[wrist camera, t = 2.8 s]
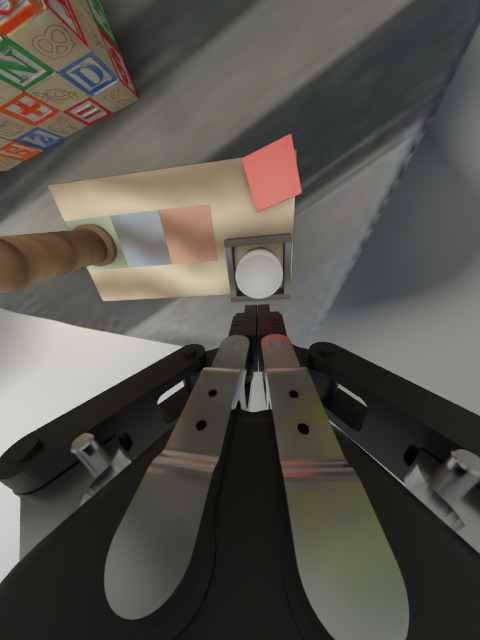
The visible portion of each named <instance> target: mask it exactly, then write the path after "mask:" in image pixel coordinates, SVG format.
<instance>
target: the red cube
mask: <svg viewBox="0 0 480 640" xmlns="http://www.w3.org/2000/svg"><path fill="white" fill-rule="evenodd" d="M242 161H243V165H244V168H245V172H246V175H247V179H248V182H249V186H250V190H251V193H252V197H253V200H254V204H255V207H256V211H257V212H259V211H261V210H264V209H266V208H269V207H271V206H273V205H276V204H278V203H280V202H283V201H285V200H288V199H290V198H292V197H295V196H297V195H299V194H301V193H302V191H301V186H300V180H299V174H298V169H297V163H296V158H295V152H294V147H293V141H292V136H291V134H289V135H287V136H285V137H283V138H281V139H279V140H277V141H275V142H273V143H271V144H269V145H267V146H265V147H263V148H261V149H259V150H257V151H255V152H253V153H251V154H249V155H247V156H245V157H243V158H242Z"/></svg>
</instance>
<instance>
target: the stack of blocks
mask: <svg viewBox="0 0 480 640" xmlns="http://www.w3.org/2000/svg"><path fill="white" fill-rule="evenodd" d="M137 100H138V95H137V93H136V90H135V88H134V85H133V82H132V80H131V77H130V75H129V72H128V69H127V67H126V64H125V62H124V59H123V57H122V54H121V52H120V50H119V48H118V45H117V42H116V40H115V37H114V35H113V32H112V29H111V27H110V24H109V21H108V19H107V16H106V14H105V11H104V8H103V6H102V3H101V0H0V173H1V172H3V171H8V170H9V169H11V168H13V167H15V166H17V165H19V164H20V163H22V162H23V161H26V160H28V159H30V158H32V157H34V156H36V155H37V154H39V153H41V152H43V149H46V148H48V147H50V146H52V145H54V144H55V143H57V142H59V141H61V140H63V139H64V138H65V137H68V136H70V135H71V134H73V133H75V132H77V131H79V130H80V129H82V128H84V127H86V126H90V125H92V124H94V123H95V122H97V121H99V120H101V119H103V118H105V117H107V116H108V115H110V114H112V113H114V112H117V111H119V110H120V109H122V108H124V107H126V106H128V105H130V104H132V103H134V102H135V101H137Z"/></svg>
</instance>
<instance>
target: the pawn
mask: <svg viewBox="0 0 480 640" xmlns="http://www.w3.org/2000/svg"><path fill="white" fill-rule="evenodd" d="M116 257H117V247H116V244H115V242H114V240H113V238H112V237H111V235H110V234H109V233H108V232H107V231H106V230H105V229H103V228H102V227H100V226H98V225H94V224H83V225H79V226H77V227H76V228H75V229H74V230H71V231H60V232H48V233H37V234H25V235H14V236H3V237H0V293H7V292H14V291H17V290H20V289H23V288H24V287H26V286H28V285H29V284H31V283H34V282H38V281H41V280H44V279H48V278H51V277H54V276H57V275H61V274H64V273H67V272H70V271H74V270H77V269H80V268H84V267H87V266H90V265H94V266H98V267H101V266H105V265H108V264H111V263H112V262H114V260H115V259H116Z"/></svg>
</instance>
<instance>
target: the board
mask: <svg viewBox="0 0 480 640" xmlns="http://www.w3.org/2000/svg"><path fill="white" fill-rule="evenodd" d="M294 152H295V158H296V153H297V150H294ZM48 187H49V189H50V192H51V194H52V196H53V198H54V200H55V202H56V204H57V206H58V208H59V210H60V212H61V214H62V216H63V219H64V221H65V223H66V226H67V228H68V230H69V231H71V230H74V229H75V228H76V227H77V226H79V225H83V224H94V225H98V226H100V227H102V228H103V229H105V230H106V231H107V232H108V233H109V234H110V235H111V237H112V238H113V240H114V242H115V244H116V247H117V257H116V259H115V260H114V262H112V263H111V264H108V265H105V266H101V267H98V266H94V265H90V266H87V269H88V271H89V272H90V275H91V277H92V279H93V281H94V283H95V285H96V287H97V289H98V291H99V293H100V295H101V297H102V299H103V301H115V300H133V299H151V298H169V297H187V296H206V295H224V294H231V302H242V301H262V300H283V299H290V291H291V278H292V253H293V228H294V203H295V197H292V198H290V199H288V200H285V201H283V202H280V203H278V204H276V205H273V206H271V207H269V208H266V209H264V210H261V211H259V212H257V211H256V207H255V204H254V200H253V197H252V193H251V190H250V186H249V182H248V179H247V175H246V172H245V168H244V165H243V161H242V158H236V159H229V160H222V161H215V162H208V163H201V164H194V165H187V166H181V167H174V168H167V169H160V170H153V171H146V172H139V173H132V174H125V175H118V176H112V177H105V178H98V179H91V180H84V181H77V182H70V183H63V184H56V185H49V186H48ZM256 247H263V248H267V249H269V250H271V251H272V252H273V253H274V254H275V255H276V256H277V258H278V260H279V262H280V264H281V267H282V270H283V279H282V283H281V285H280V287H279V288H278V290H277V291H276V292H275V293H274V294H272V295H270V296H269V297H266V298H261V299H256V298H251V297H249V296H247V295H245V294H244V293H243V292H242V291H241V290H240V289H239V287H238V285H237V283H236V279H235V273H236V269H237V266H238V264H239V261H240V259H241V257H242V256H243V255H244V254H245V253H246V252H247V251H248V250H250V249H252V248H256Z"/></svg>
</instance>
